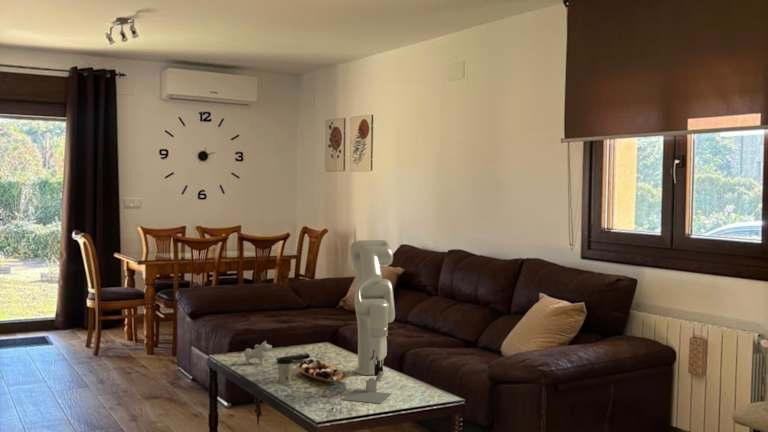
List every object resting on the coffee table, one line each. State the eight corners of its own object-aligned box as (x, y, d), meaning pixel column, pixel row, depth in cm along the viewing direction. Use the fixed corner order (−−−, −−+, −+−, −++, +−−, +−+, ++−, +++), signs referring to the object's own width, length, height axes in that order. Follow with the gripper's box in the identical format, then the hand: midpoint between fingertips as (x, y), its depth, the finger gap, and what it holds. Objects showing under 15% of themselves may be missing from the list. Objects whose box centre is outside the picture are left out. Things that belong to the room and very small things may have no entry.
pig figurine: (272, 365, 356) (271, 342, 355) (244, 365, 354) (244, 343, 354) (272, 362, 361) (272, 340, 361) (244, 363, 360) (244, 340, 359)
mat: (354, 390, 314) (354, 389, 314) (391, 394, 309) (391, 393, 309) (341, 399, 301) (341, 399, 301) (380, 404, 296) (380, 403, 296)
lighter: (367, 391, 311) (368, 372, 311) (365, 390, 312) (366, 371, 313) (382, 391, 314) (383, 371, 314) (381, 390, 316) (382, 370, 316)
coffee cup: (290, 384, 324) (290, 360, 323) (274, 383, 325) (274, 360, 324) (295, 379, 330) (295, 357, 330) (280, 379, 332) (280, 356, 331)
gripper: (376, 328, 325) (376, 370, 326) (364, 334, 311) (364, 379, 312) (392, 329, 323) (392, 372, 323) (381, 336, 308) (381, 381, 309)
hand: (378, 375), depth 318 cm, fingers closed
